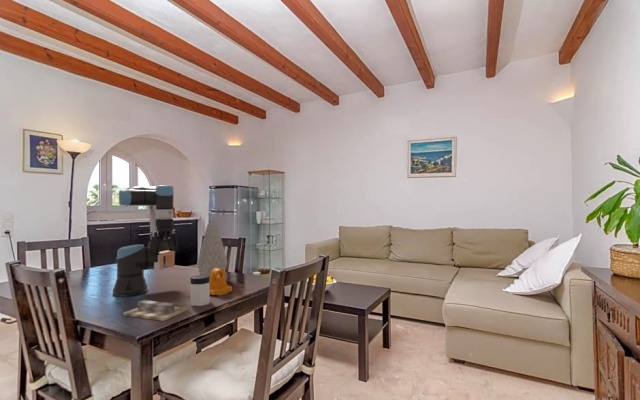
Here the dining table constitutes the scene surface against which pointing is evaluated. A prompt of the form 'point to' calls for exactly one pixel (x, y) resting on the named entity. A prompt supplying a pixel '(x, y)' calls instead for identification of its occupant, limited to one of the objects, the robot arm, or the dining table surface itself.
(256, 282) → the dining table surface
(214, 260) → the vase
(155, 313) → the rail board
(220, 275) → the bracket
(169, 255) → the clip
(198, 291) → the jar
